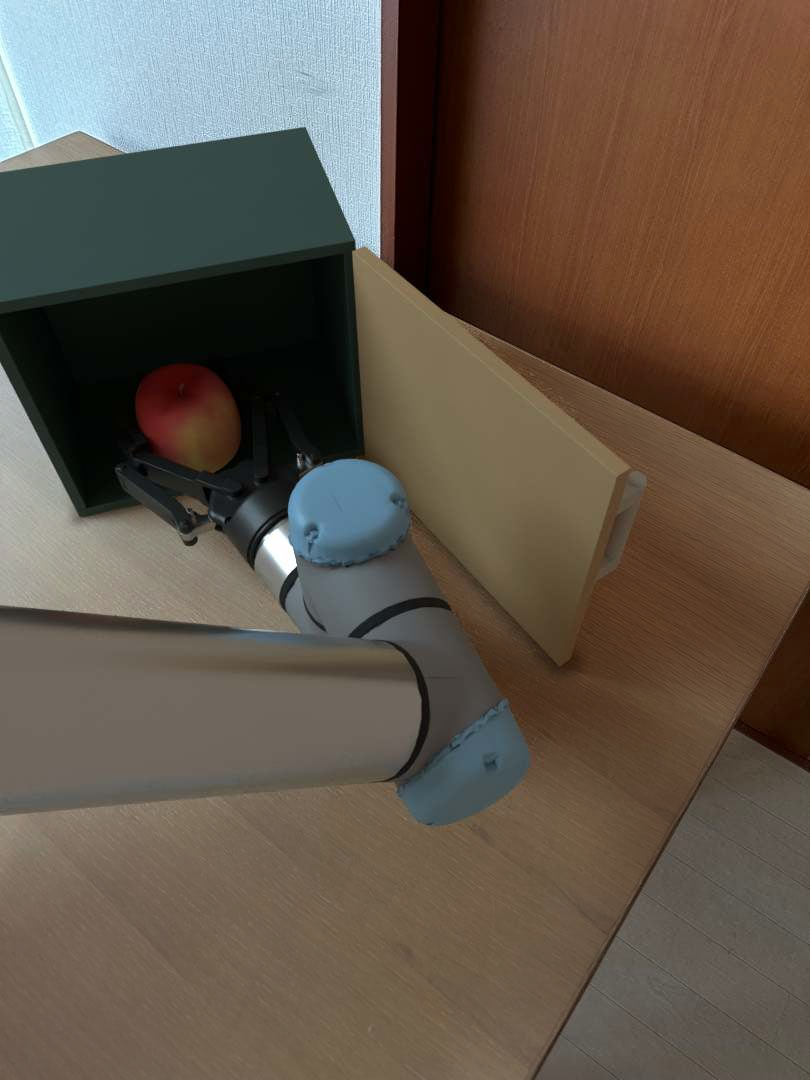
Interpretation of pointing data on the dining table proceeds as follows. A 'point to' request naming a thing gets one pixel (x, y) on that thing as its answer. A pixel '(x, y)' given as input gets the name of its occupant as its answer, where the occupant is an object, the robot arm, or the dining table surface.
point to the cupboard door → (489, 459)
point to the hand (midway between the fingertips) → (165, 389)
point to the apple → (188, 416)
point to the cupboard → (177, 295)
